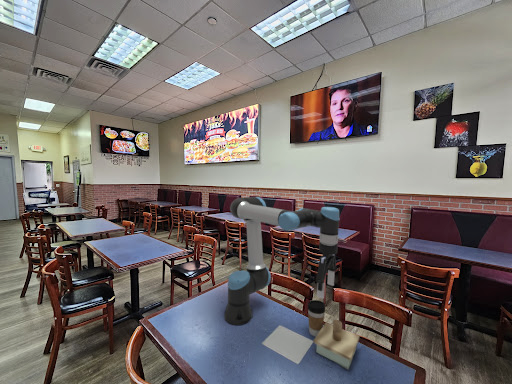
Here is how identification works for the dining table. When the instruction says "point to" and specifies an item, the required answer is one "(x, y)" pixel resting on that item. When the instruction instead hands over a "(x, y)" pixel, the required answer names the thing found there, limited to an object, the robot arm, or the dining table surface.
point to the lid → (337, 339)
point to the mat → (288, 344)
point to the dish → (334, 357)
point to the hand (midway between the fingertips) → (325, 290)
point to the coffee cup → (315, 316)
